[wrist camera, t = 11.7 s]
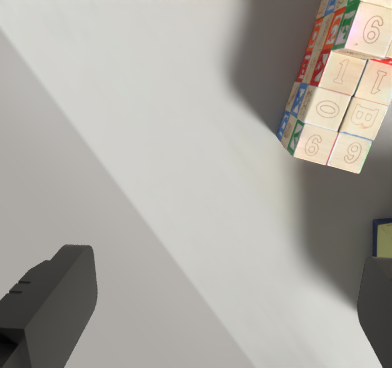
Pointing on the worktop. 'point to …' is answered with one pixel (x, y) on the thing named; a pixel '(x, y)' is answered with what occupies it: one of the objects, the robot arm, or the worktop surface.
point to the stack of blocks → (341, 85)
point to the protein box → (382, 238)
